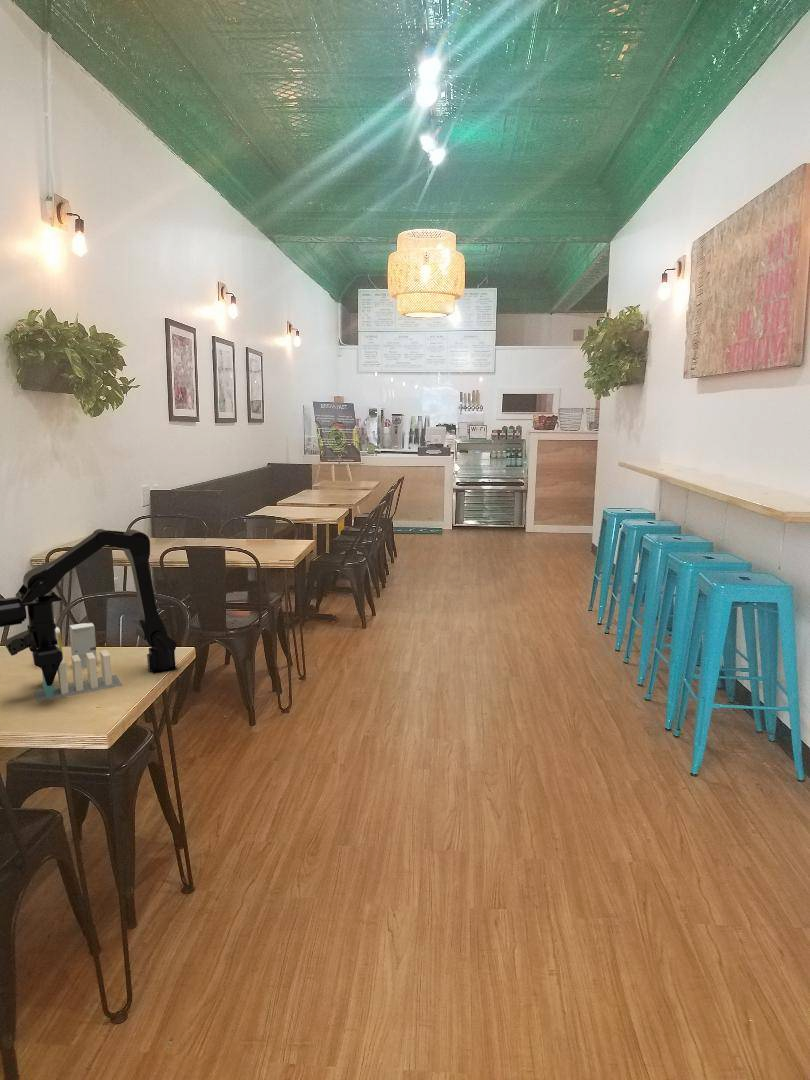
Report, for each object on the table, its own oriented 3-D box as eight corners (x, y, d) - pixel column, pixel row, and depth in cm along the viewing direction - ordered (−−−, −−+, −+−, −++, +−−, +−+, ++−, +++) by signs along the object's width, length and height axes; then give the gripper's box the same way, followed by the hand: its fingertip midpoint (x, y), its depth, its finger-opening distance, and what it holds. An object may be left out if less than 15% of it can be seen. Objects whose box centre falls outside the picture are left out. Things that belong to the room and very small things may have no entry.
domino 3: (94, 681, 190) (92, 652, 189) (98, 687, 186) (95, 657, 185) (88, 682, 190) (85, 653, 188) (91, 688, 185) (88, 658, 184)
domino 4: (108, 678, 192) (106, 650, 191) (112, 684, 188) (110, 655, 187) (102, 679, 191) (100, 651, 190) (105, 685, 187) (103, 656, 186)
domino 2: (80, 683, 189) (77, 654, 187) (83, 690, 184) (80, 660, 183) (73, 685, 188) (71, 655, 186) (76, 691, 184) (74, 661, 182)
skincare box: (74, 671, 199) (70, 629, 197) (71, 666, 203) (68, 625, 200) (98, 666, 202) (95, 625, 200) (95, 662, 206) (91, 621, 204)
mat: (116, 676, 195) (116, 674, 195) (122, 686, 188) (122, 685, 187) (33, 691, 185) (33, 689, 185) (37, 703, 177) (37, 701, 177)
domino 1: (65, 686, 187) (63, 657, 185) (68, 692, 183) (65, 662, 181) (59, 687, 186) (56, 658, 184) (61, 694, 182) (58, 664, 180)
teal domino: (50, 689, 185) (47, 659, 183) (53, 695, 181) (50, 665, 179) (43, 690, 184) (41, 660, 183) (46, 697, 180) (43, 666, 178)
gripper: (2, 616, 183) (8, 674, 185) (7, 635, 167) (14, 698, 170) (51, 609, 188) (56, 666, 191) (60, 627, 173) (65, 689, 176)
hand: (47, 679), depth 182 cm, fingers open, 9 cm apart
